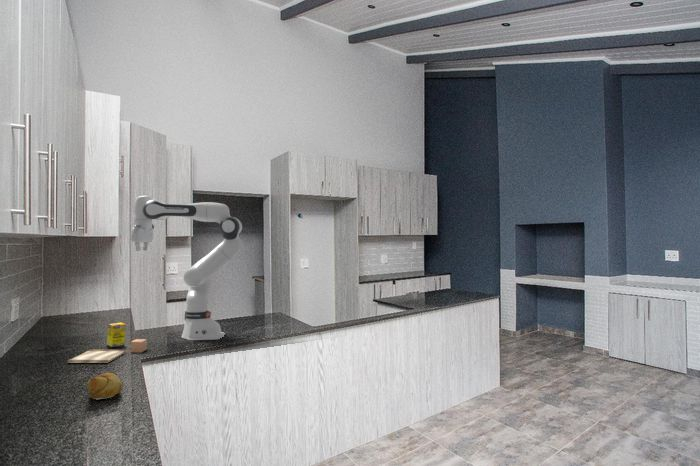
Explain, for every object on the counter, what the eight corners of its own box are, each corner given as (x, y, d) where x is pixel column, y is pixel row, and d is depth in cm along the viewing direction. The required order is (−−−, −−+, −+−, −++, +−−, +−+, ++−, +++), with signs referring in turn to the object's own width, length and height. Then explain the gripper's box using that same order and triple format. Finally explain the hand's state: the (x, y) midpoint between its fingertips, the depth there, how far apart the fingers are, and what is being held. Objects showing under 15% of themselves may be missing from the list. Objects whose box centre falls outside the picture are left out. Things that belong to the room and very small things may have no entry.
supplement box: (111, 348, 188) (112, 325, 188) (106, 346, 191) (107, 323, 191) (124, 346, 192) (126, 323, 193) (119, 344, 196) (120, 322, 196)
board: (125, 353, 181) (125, 349, 181) (107, 363, 165) (107, 360, 165) (89, 352, 179) (89, 349, 179) (67, 363, 163) (67, 360, 163)
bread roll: (91, 390, 136) (92, 367, 136) (123, 386, 141) (124, 364, 141) (85, 404, 125) (86, 379, 125) (120, 400, 129) (121, 375, 129)
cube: (146, 349, 188) (146, 339, 188) (141, 352, 183) (142, 341, 183) (135, 349, 187) (135, 339, 188) (130, 352, 182) (131, 341, 183)
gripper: (141, 224, 204) (140, 251, 203) (155, 226, 224) (154, 250, 224) (128, 224, 203) (127, 250, 203) (143, 225, 223) (142, 250, 223)
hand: (141, 250), depth 213 cm, fingers open, 8 cm apart
